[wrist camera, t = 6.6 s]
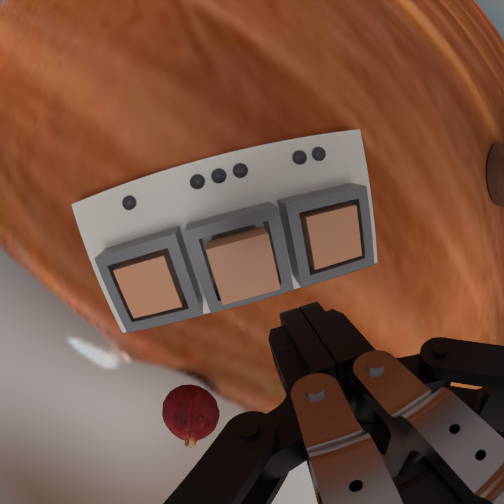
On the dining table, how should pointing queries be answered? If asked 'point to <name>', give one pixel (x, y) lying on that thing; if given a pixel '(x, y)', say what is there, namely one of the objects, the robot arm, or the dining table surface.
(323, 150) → the button panel
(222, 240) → the button three
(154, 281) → the button one
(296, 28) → the dining table surface
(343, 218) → the button two
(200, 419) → the onion
